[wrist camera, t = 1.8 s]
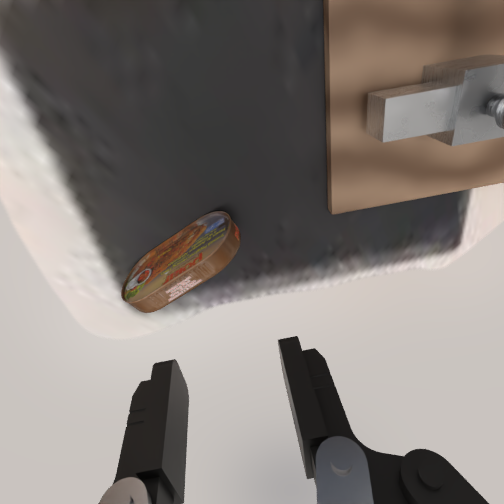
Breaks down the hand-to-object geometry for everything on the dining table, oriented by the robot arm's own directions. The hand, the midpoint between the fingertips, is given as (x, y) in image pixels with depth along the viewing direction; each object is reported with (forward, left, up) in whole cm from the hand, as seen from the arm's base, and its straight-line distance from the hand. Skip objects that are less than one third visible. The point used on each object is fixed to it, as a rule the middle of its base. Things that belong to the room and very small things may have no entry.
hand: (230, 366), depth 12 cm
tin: (+10, -6, -28) cm, 30 cm away
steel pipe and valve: (-2, +24, -26) cm, 35 cm away
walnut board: (-2, +24, -27) cm, 36 cm away
